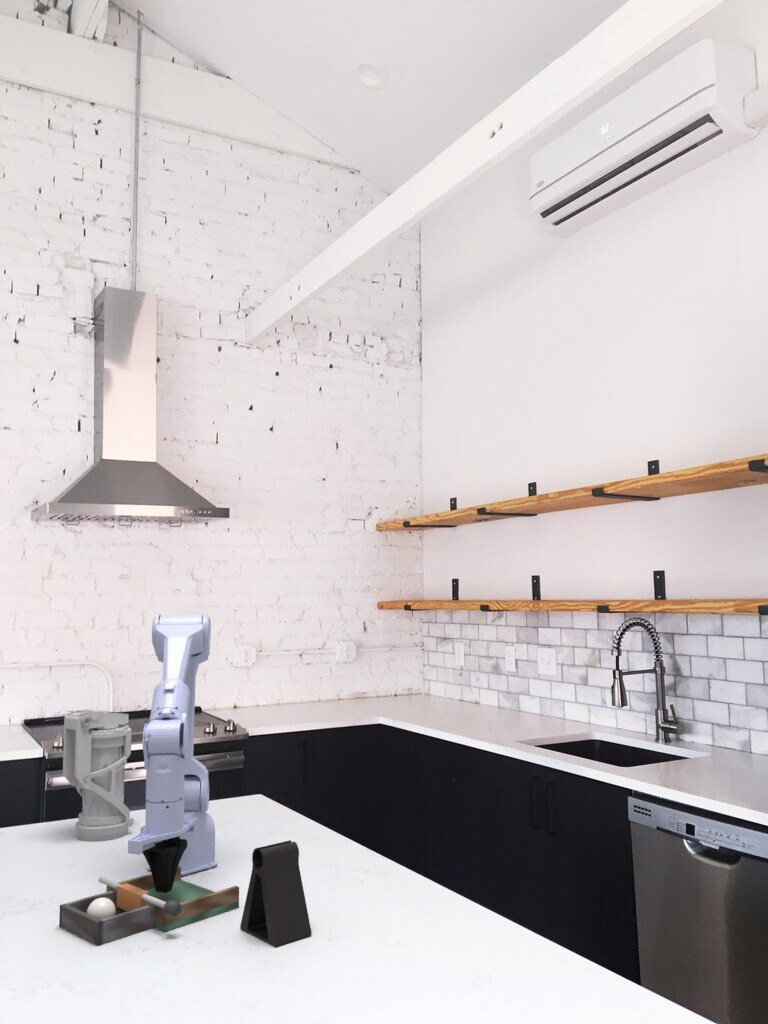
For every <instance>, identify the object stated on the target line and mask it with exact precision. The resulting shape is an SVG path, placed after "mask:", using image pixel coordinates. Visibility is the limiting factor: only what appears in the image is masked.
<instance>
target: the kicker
mask: <svg viewBox="0 0 768 1024" xmlns="http://www.w3.org/2000/svg"><path fill="white" fill-rule="evenodd" d="M97 880H98V881H97V882H99V883H100V884H102V885H106V886H107V885H108V886H110V887H113V888H115V889H117V907H118V908H121V909H123V910H125V911H131V910H134V909H137V908H141V907H144V906H147V905H149V902H150V903H152V904H155V905H157V906H160V907H162V908H164V912H165V913H166V914H169V915H171V916H177V915H178V914H179V913H180V911H181V904H180V903H178V902H175V901H173V900H168V901H167V902H164V901H162V900H159V899H157V898H154V897H152V896H149V892H148V891H145V890H143V889H140V888H138V887H135V886H133V885H130V884H127V883H125V884H122V885H121V884H119V883H118V882H116V881H113V880H111V879H108V878H105V877H103V876H100V877H98V879H97Z"/></svg>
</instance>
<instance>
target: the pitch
mask: <svg viewBox="0 0 768 1024" xmlns="http://www.w3.org/2000/svg"><path fill="white" fill-rule="evenodd" d="M117 883H119V884H121V885H122V884H125V883H127V884H130V885H133V886H135V887H138V888H140V889H143V890H145V891H148V892H149V896H152V897H154V898H157V899H159V900H162V901H164V902H167V901H168V900H173V901H175V902H178V903H180V904H181V911H180V913H179V914H178V915H177V916H171V915H169V914H166V913H165V912H164V908H162V907H160V906H157V905H155V904H152V903H150V902H149V905H147V906H144V907H141V908H137V909H134V910H131V911H125V910H123V909H121V908H118V907H117V889H115V888H113V887H110V886H108V885H106V892H102V893H98V894H95V895H91V896H88V897H84V898H80V899H77V900H74V901H70V902H69V901H68V902H66V903H63V904H59V922H58V923H59V925H58V927H59V928H61V929H63V930H65V931H67V932H70V933H71V934H73V935H75V936H77V937H79V938H80V939H83V940H85V941H88V942H89V943H91V944H93V945H95V946H101V945H105V944H107V943H110V942H114V941H116V940H119V939H120V940H121V939H122V938H126V937H128V936H131V935H135V934H138V933H141V932H144V931H148V930H149V929H153V928H156V929H158V930H161V931H162V932H165V933H166V932H169V931H172V930H176V929H178V928H182V927H184V926H186V925H189V924H193V923H197V922H199V921H202V920H205V919H208V918H211V917H214V916H217V915H220V914H223V913H226V912H229V911H232V910H235V909H238V908H239V907H240V886H239V885H234V886H231V887H227V888H224V889H221V890H217V891H214V890H211V889H208V888H205V887H203V886H199V885H197V884H194V883H191V882H189V881H185V880H182V876H181V867H179V866H178V868H177V871H176V875H175V879H174V883H173V887H172V890H171V891H169V892H167V893H163V892H156V889H155V885H154V881H153V877H152V873H151V872H150V873H148V874H144V875H140V876H137V877H134V878H133V877H132V878H129V879H126V880H122V881H119V882H117ZM98 898H108V899H110V900H111V901H112V902H113V903H114V905H115V908H116V914H115V915H114V916H111V917H108V918H104V919H101V920H100V919H98V918H95V917H93V916H91V915H89V914H87V909H88V907H89V905H90V904H91V903H92V902H93V901H94V900H96V899H98Z"/></svg>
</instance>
